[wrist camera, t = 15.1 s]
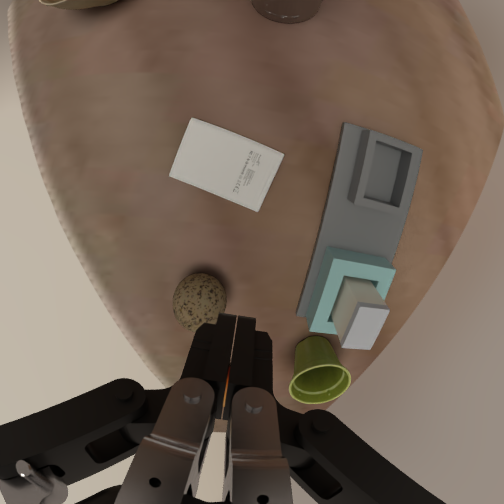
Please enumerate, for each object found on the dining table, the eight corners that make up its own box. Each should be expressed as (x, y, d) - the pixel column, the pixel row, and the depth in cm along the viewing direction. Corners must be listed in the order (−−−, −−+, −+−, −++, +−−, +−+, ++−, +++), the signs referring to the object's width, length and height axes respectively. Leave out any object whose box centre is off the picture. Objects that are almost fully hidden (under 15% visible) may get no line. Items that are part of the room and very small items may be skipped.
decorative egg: (172, 281, 40) (150, 320, 31) (206, 253, 38) (188, 289, 29) (205, 313, 42) (192, 356, 33) (239, 289, 40) (233, 332, 31)
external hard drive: (194, 117, 32) (284, 153, 33) (172, 175, 35) (258, 210, 36) (191, 116, 30) (285, 154, 32) (168, 176, 33) (257, 213, 35)
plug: (339, 267, 37) (360, 306, 28) (364, 271, 37) (389, 310, 28) (326, 303, 39) (341, 347, 30) (350, 306, 39) (370, 349, 30)
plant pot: (345, 327, 42) (358, 363, 34) (333, 366, 46) (342, 402, 38) (289, 326, 42) (293, 365, 34) (282, 367, 46) (285, 404, 38)
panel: (342, 122, 31) (355, 119, 26) (419, 149, 31) (438, 152, 26) (295, 312, 41) (298, 332, 37) (364, 320, 42) (373, 339, 37)
